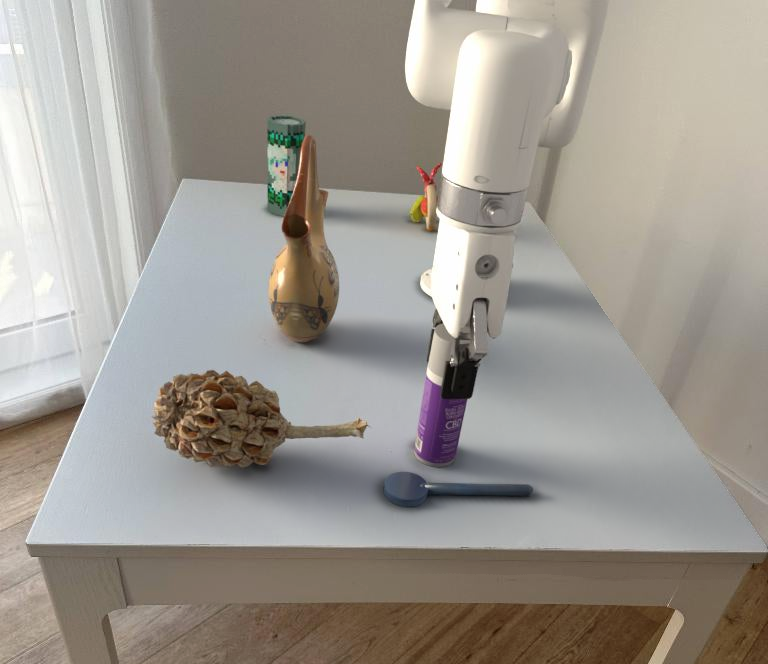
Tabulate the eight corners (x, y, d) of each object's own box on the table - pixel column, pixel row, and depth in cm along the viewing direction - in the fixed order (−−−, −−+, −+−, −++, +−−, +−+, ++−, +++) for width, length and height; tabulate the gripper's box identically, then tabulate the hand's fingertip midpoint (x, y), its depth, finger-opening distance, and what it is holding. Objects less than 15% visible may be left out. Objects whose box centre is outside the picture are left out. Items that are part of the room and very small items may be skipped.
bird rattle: (445, 242, 136) (438, 206, 139) (459, 193, 126) (452, 156, 129) (412, 241, 135) (406, 204, 138) (424, 192, 125) (417, 154, 128)
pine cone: (152, 489, 73) (141, 405, 66) (161, 433, 80) (151, 351, 73) (371, 487, 77) (381, 407, 70) (361, 434, 84) (369, 356, 77)
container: (442, 472, 80) (466, 349, 70) (406, 456, 81) (424, 333, 71) (462, 452, 83) (488, 332, 73) (426, 437, 84) (447, 317, 75)
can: (264, 213, 132) (263, 121, 122) (273, 202, 136) (274, 113, 126) (297, 218, 131) (299, 127, 122) (305, 207, 136) (308, 118, 126)
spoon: (385, 506, 74) (386, 497, 74) (381, 478, 78) (382, 469, 77) (536, 508, 77) (539, 499, 76) (526, 480, 80) (528, 472, 79)
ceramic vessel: (326, 369, 93) (338, 161, 77) (256, 359, 93) (253, 149, 77) (343, 312, 106) (357, 122, 89) (282, 303, 106) (284, 112, 89)
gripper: (554, 241, 58) (506, 428, 70) (494, 171, 71) (462, 340, 83) (464, 237, 57) (430, 429, 69) (419, 167, 69) (397, 339, 81)
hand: (448, 378), depth 76 cm, fingers open, 5 cm apart
